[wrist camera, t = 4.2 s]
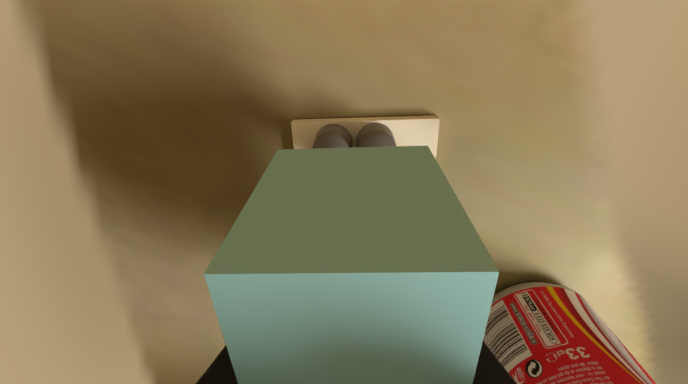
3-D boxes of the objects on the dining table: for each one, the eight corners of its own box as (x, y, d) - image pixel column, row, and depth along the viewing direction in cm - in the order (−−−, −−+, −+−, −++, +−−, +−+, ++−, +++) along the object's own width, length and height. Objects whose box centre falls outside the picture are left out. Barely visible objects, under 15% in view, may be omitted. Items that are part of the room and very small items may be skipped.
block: (277, 149, 10) (204, 274, 5) (427, 145, 10) (499, 272, 5) (307, 357, 15) (283, 527, 10) (409, 358, 15) (437, 532, 10)
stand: (424, 248, 19) (435, 284, 17) (307, 250, 20) (300, 285, 17) (436, 115, 16) (453, 134, 13) (292, 119, 16) (280, 139, 13)
